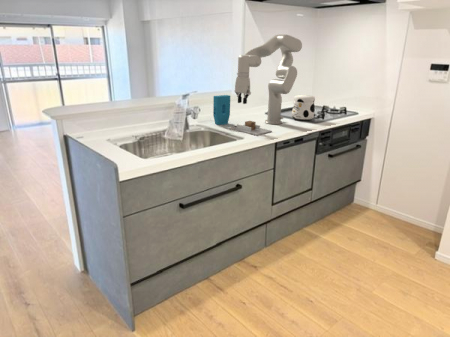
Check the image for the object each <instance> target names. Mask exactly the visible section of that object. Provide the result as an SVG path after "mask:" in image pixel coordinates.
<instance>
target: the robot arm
mask: <svg viewBox="0 0 450 337" xmlns="http://www.w3.org/2000/svg"><path fill="white" fill-rule="evenodd" d="M302 48H303V43H302V41H301V39H299V38H298V37H297V38H296V37H294V36H292V35H289V34H275V35H273V36H272V37H271V38H270V39H268V40H267V41H266V42H264V43H263V44H261V45H259V46H257V47H254V48H253V49H250V50H248V51H247V52H246V53H244V55H238V58H237V72H236V75H237V76H236V79H235V84H234V93H235V94H236V97H237V103H238V104H241V103H242V104H243V105H246V104H248V98H249V96H250V95H251V94H252V92H251V78H250V68H258V67H260V65H261V64H262V58H266V57H269V56H272V54H273V53H275V52H276V51H278V50H279V49H280V53H281V60H280V62H279V64H278V66H277V69H276V71H275V76H276V78H275V79H271V80H270V81H269V82H268V86H267V87H268V89H267V90H268V105H267V107H268V108H267V119H265V120H264V121H265V124H269V125H281V124H282V123H283V121H282V120H283V119H284V116H282V114H281V112H282V102H283V98H282V95H288V94H289V93H290V92H291V90H292V88H293V87H294V83H295V81H296V79H297V76H298V68H297V67H296V66H294V65H293V63H294V56H293V53H299V52H301V51H302ZM242 94H243V97H242Z"/></svg>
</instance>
